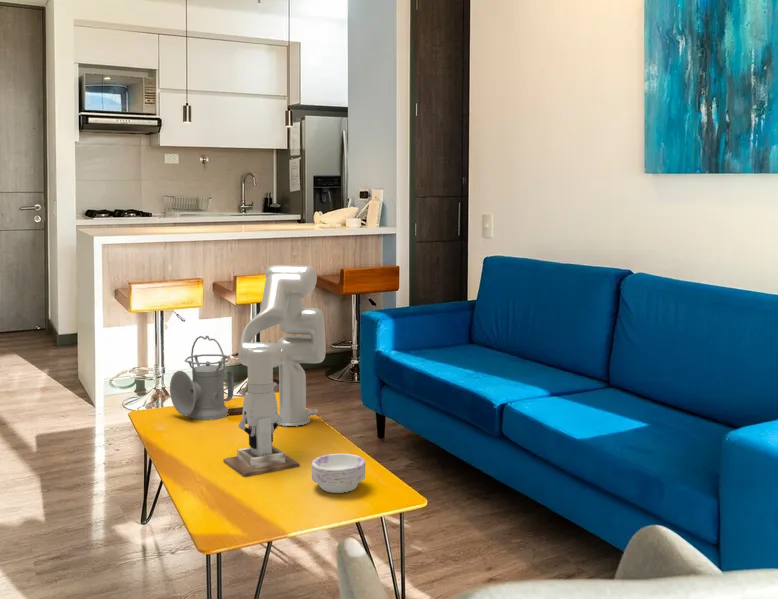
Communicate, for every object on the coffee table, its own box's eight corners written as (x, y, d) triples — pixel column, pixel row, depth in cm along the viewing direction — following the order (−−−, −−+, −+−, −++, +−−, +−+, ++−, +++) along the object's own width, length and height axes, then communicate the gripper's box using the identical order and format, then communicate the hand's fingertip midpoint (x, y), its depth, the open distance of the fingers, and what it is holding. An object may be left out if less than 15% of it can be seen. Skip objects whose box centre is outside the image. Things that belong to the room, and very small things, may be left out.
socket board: (276, 452, 261) (276, 440, 260) (299, 466, 247) (299, 453, 247) (223, 461, 251) (223, 449, 250) (244, 477, 238) (244, 463, 237)
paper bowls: (314, 478, 238) (314, 451, 237) (366, 479, 237) (367, 452, 236) (308, 497, 222) (308, 469, 221) (363, 498, 222) (363, 470, 221)
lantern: (167, 414, 303) (165, 335, 299) (216, 404, 319) (214, 328, 315) (199, 426, 289) (197, 343, 285) (249, 414, 305) (248, 335, 301)
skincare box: (272, 455, 248) (272, 417, 246) (259, 458, 245) (259, 419, 243) (262, 450, 252) (262, 412, 251) (249, 453, 250) (249, 414, 248)
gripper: (280, 382, 254) (280, 439, 256) (229, 388, 244) (230, 447, 247) (291, 387, 248) (291, 445, 250) (239, 394, 238) (240, 454, 241)
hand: (261, 445), depth 248 cm, fingers closed on skincare box, 4 cm apart
